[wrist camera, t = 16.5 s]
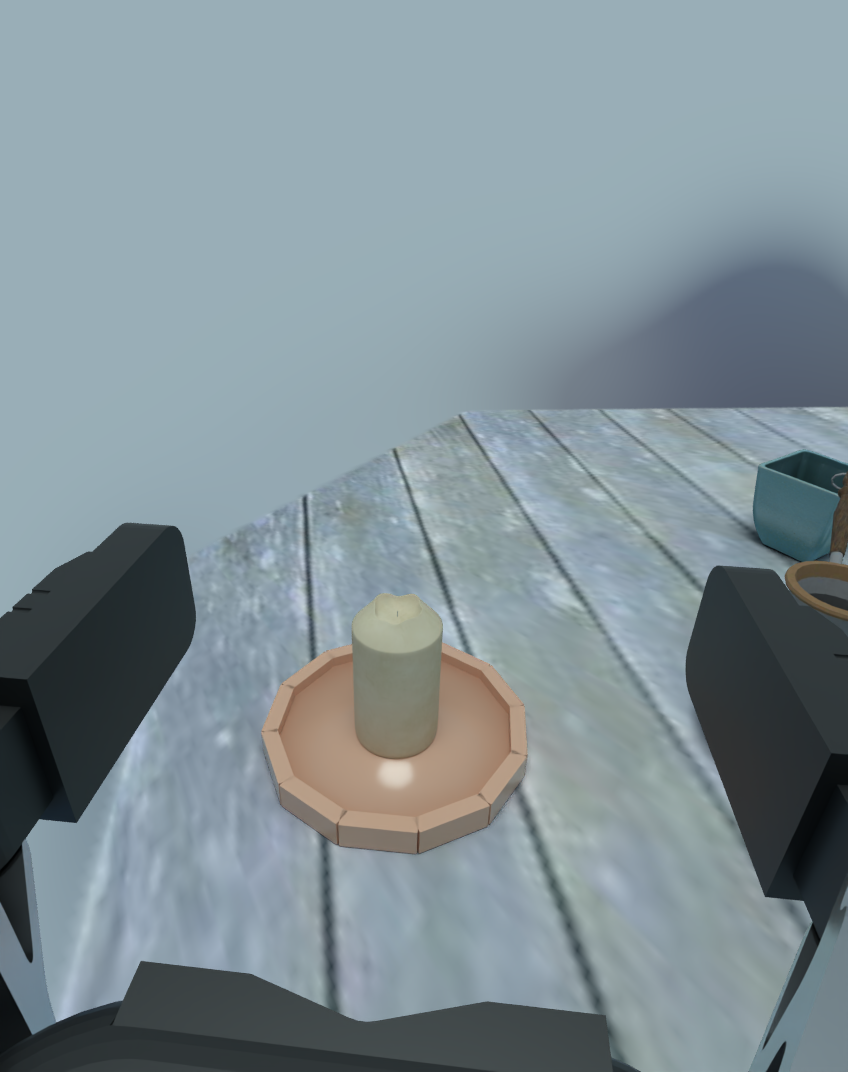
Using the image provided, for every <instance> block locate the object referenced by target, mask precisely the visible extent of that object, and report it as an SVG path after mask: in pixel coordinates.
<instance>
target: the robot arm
mask: <svg viewBox="0 0 848 1072" xmlns="http://www.w3.org/2000/svg"><path fill="white" fill-rule="evenodd" d="M195 623H196V611H195V604H194V598H193V592H192V586H191V581H190V575H189V569H188V563H187V557H186V552H185V546H184V541H183V537H182V534H181V532H180V531H179V530H178V528H176V527H175V526H167V525H153V524H139V523H124V524H122V525H121V526H119V527H118V528H117V529H116V530H115V531H114V532H113V533H112V534H111V535H110V536H109V537H108V538H106V540H104V541H103V542H102V543H101V544H100V545H99V546H98V547H97V548H96V549H95V550H94V551H93V552H86V553H84V554H82V555H80V556H79V557H77V558H75V559H73V560H71V561H69V562H67V563H65V564H63V565H61V566H59V567H57V568H55V569H54V570H53V571H52V572H51V573H50V574H49V575H47V576H46V577H45V578H44V579H43V580H42V581H41V582H40V583H39V584H38V585H36V586H35V587H34V588H33V589H32V594H26V595H25V596H24V597H23V598H22V599H21V600H20V601H19V602H18V603H17V604H15V605H14V606H13V611H12V612H7V613H6V614H4V615H3V616H2V617H1V618H0V1072H640V1071H638V1070H637V1069H635V1068H633V1067H631V1066H630V1065H628V1064H625V1063H623V1062H621V1061H619V1060H616V1059H614V1058H612V1057H611V1053H610V1046H609V1038H608V1030H607V1023H606V1015H598V1014H589V1013H581V1012H572V1011H564V1010H555V1009H547V1008H538V1007H529V1006H521V1005H512V1004H504V1003H495V1002H482V1003H476V1004H470V1005H465V1006H459V1007H453V1008H448V1009H442V1010H436V1011H431V1012H425V1013H419V1014H414V1015H408V1016H402V1017H397V1018H391V1019H385V1020H380V1021H372V1022H363V1021H357V1020H354V1019H351V1018H348V1017H346V1016H344V1015H342V1014H339V1013H337V1012H335V1011H333V1010H330V1009H328V1008H326V1007H324V1006H321V1005H319V1004H317V1003H315V1002H312V1001H310V1000H308V999H306V998H304V997H301V996H299V995H297V994H295V993H292V992H290V991H288V990H286V989H283V988H281V987H279V986H277V985H274V984H272V983H270V982H268V981H266V980H263V979H261V978H259V977H257V976H254V975H252V974H247V973H239V972H230V971H222V970H213V969H205V968H196V967H187V966H179V965H170V964H162V963H153V962H145V961H141V962H140V964H139V966H138V968H137V971H136V973H135V975H134V977H133V980H132V982H131V984H130V986H129V988H128V991H127V993H126V995H125V997H124V1000H123V1001H118V1002H113V1003H110V1004H107V1005H103V1006H100V1007H97V1008H93V1009H90V1010H87V1011H83V1012H80V1013H78V1014H76V1015H73V1016H71V1017H69V1018H66V1019H64V1020H61V1021H59V1022H57V1023H56V1020H55V1017H54V1013H53V1010H52V1007H51V1003H50V999H49V995H48V990H47V985H46V979H45V971H44V963H43V954H42V945H41V937H40V928H39V919H38V911H37V902H36V893H35V885H34V876H33V868H32V858H31V852H30V848H29V845H28V843H27V841H26V837H27V836H28V834H29V833H30V831H31V830H32V828H33V827H34V826H35V824H36V823H37V821H38V820H39V819H43V820H53V821H62V822H73V823H77V822H78V820H79V818H80V817H81V815H82V814H83V812H84V810H85V809H86V807H87V806H88V804H89V803H90V801H91V800H92V798H93V797H94V795H95V793H96V792H97V790H98V789H99V787H100V786H101V784H102V783H103V781H104V779H105V778H106V776H107V775H108V773H109V772H110V770H111V769H112V767H113V765H114V764H115V762H116V761H117V759H118V758H119V756H120V755H121V753H122V751H123V750H124V748H125V747H126V745H127V744H128V742H129V740H130V739H131V737H132V736H133V734H134V733H135V731H136V730H137V728H138V726H139V725H140V723H141V722H142V720H143V719H144V717H145V716H146V714H147V712H148V711H149V709H150V708H151V706H152V705H153V703H154V701H155V700H156V698H157V697H158V695H159V694H160V692H161V691H162V689H163V687H164V686H165V684H166V683H167V681H168V680H169V678H170V677H171V675H172V673H173V672H174V670H175V669H176V667H177V666H178V664H179V662H180V661H181V659H182V658H183V656H184V655H185V653H186V652H187V650H188V648H189V646H190V644H191V641H192V638H193V635H194V630H195ZM686 682H687V687H688V691H689V694H690V697H691V700H692V702H693V705H694V708H695V711H696V713H697V716H698V719H699V721H700V724H701V727H702V729H703V732H704V735H705V737H706V740H707V743H708V745H709V748H710V751H711V753H712V756H713V759H714V761H715V764H716V767H717V769H718V772H719V775H720V777H721V780H722V783H723V785H724V788H725V791H726V794H727V796H728V799H729V802H730V804H731V807H732V810H733V812H734V815H735V818H736V820H737V823H738V826H739V828H740V831H741V834H742V836H743V839H744V842H745V844H746V847H747V850H748V852H749V855H750V858H751V860H752V863H753V866H754V869H755V871H756V874H757V877H758V879H759V882H760V885H761V887H762V890H763V893H764V895H765V897H771V898H781V899H790V900H800V901H804V903H805V905H806V907H807V910H808V912H809V914H810V917H811V919H812V922H811V923H810V925H809V927H808V929H807V931H806V933H805V935H804V937H803V939H802V942H801V944H800V946H799V949H798V951H797V954H796V956H795V959H794V961H793V964H792V966H791V969H790V971H789V974H788V976H787V978H786V981H785V983H784V986H783V988H782V991H781V993H780V996H779V998H778V1001H777V1003H776V1006H775V1008H774V1010H773V1013H772V1015H771V1018H770V1020H769V1023H768V1025H767V1028H766V1030H765V1033H764V1035H763V1037H762V1040H761V1042H760V1045H759V1047H758V1050H757V1052H756V1055H755V1057H754V1060H753V1062H752V1064H751V1067H750V1069H749V1071H748V1072H848V637H847V635H846V634H845V633H844V631H843V630H842V629H841V628H839V627H838V626H836V625H835V624H834V623H832V622H831V621H830V620H828V619H827V618H825V617H824V616H823V615H821V614H820V613H819V612H817V611H816V610H814V609H813V608H812V607H810V606H800V605H799V604H798V603H797V601H796V600H795V599H794V597H793V596H792V594H791V593H790V592H789V590H788V589H787V587H786V586H785V584H784V583H783V582H782V580H781V579H780V577H779V576H778V575H777V573H776V572H775V571H773V570H771V569H760V568H746V567H732V566H716V567H714V568H713V569H712V571H711V572H710V574H709V577H708V579H707V582H706V586H705V590H704V593H703V597H702V600H701V604H700V607H699V611H698V614H697V618H696V622H695V625H694V629H693V632H692V636H691V639H690V643H689V646H688V651H687V656H686Z"/></svg>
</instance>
